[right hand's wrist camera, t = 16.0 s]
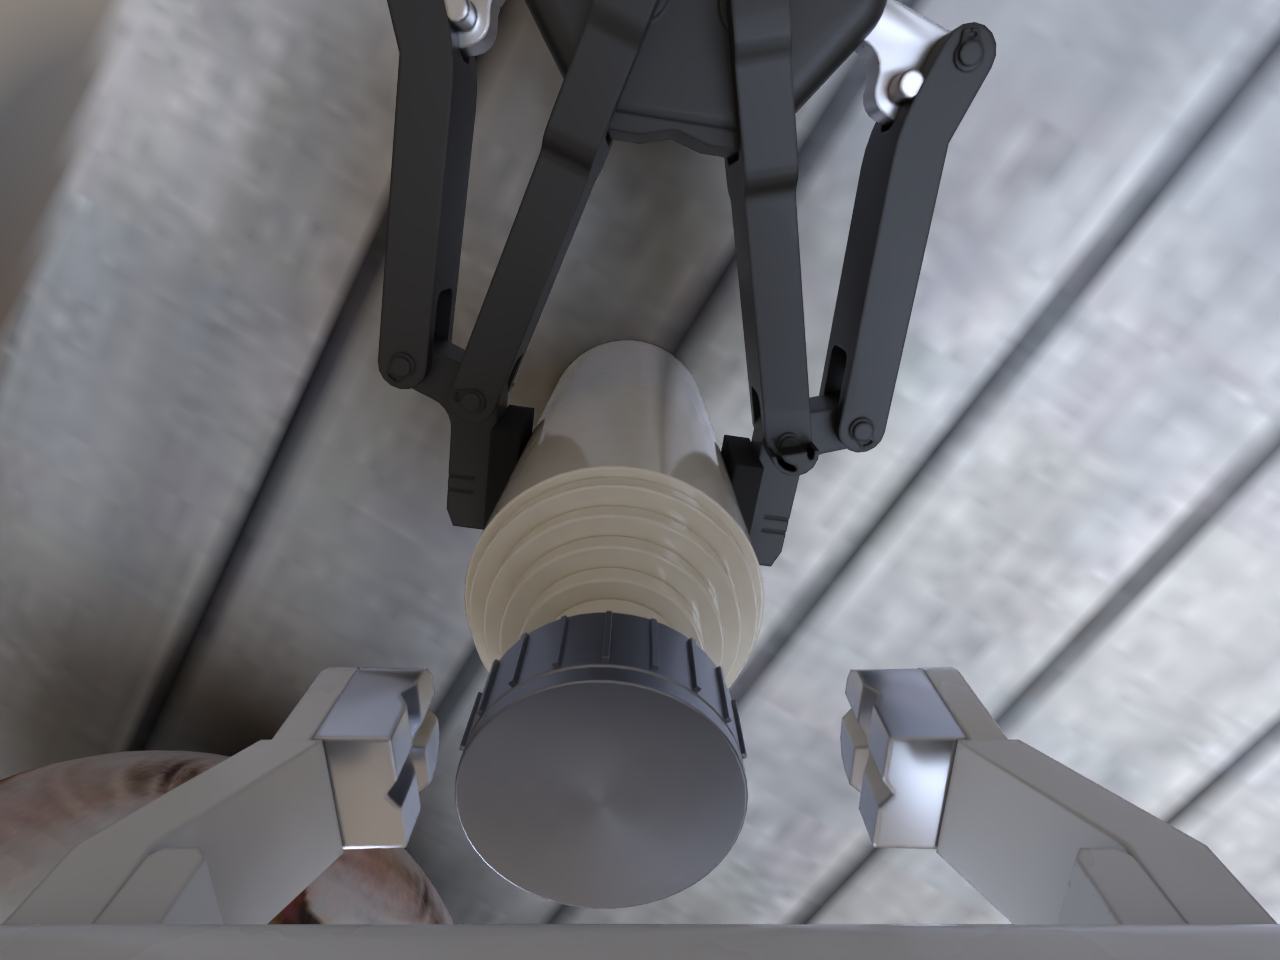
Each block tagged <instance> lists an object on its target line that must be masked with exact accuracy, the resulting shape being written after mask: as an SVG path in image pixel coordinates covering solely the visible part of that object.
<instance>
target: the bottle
mask: <svg viewBox="0 0 1280 960" xmlns="http://www.w3.org/2000/svg"><path fill="white" fill-rule="evenodd" d="M465 607H466V615H467V620H468V624H469V628H470V631H471V634H472V636H473V640H474V644H475V646H476V649H477V651H478V654H479V656H480V659H481V661H482V662H483V664H484V666H485V667H486V669H487V671H488V673H489V672H490V669H491V666H492V663H493V662H494V660H495V659H497V660H500V659H501V657H502V656H503V655H504V654H505V653H506V651H507V650H509V649H510V648H511V647H512V646H513V645H514V644H515V643H516V642H518V641H519V640H520V639H521V635H522V634H524V633H525V632H526V633H527V634H529V633H530V632H532V631H534V630H536V629H538V628H540V627H542V626H544V625H546V624H548V623H550V622H553V621H556V620H559V619H561V616H565V615H567V617H570V616H574V615H578V614H586V613H596V612H606V611H612V612H615V613H623V614H631V615H636V616H640V617H644V618H648V619H651V618H654V619H657V622H659V623H662V624H664V625H666V626H668V627H670V628H672V629H674V630H676V631H678V632H680V633H681V634H683V635H684V636H686V637H687V638H689V639H690V638H691V637H692V638H693V639H695V641H696V645H697V646H699V647H700V648H701V649H702V650H703V651H704V652H705V653H706V654H707V655H708V656H709V658H710V659H711V660H712V661H713V662H714V663H715V665H716V666H717V667H718V666H721V668H722V669H723V674H724V679H725V683H726V685H727V687H728V688H729V687H730V686H731V685H732V683H733V682H734V681H735V679H736V678H737V677H738V675H739V674H740V672H741V671H742V669H743V667H744V665H745V663H746V662H747V660H748V657H749V655H750V653H751V651H752V649H753V647H754V644H755V642H756V639H757V636H758V634H759V631H760V626H761V622H762V617H763V608H764V588H763V579H762V575H761V570H760V566H759V562H758V559H757V556H756V554H755V551H754V548H753V545H752V542H751V539H750V536H749V533H748V530H747V527H746V524H745V522H744V519H743V516H742V513H741V510H740V507H739V504H738V501H737V498H736V495H735V492H734V489H733V487H732V484H731V481H730V478H729V475H728V472H727V469H726V466H725V463H724V460H723V457H722V454H721V452H720V449H719V446H718V443H717V440H716V437H715V434H714V431H713V428H712V425H711V422H710V420H709V417H708V414H707V411H706V408H705V405H704V402H703V399H702V396H701V393H700V391H699V388H698V386H697V383H696V382H695V380H694V378H693V376H692V375H691V373H690V372H689V371H688V369H687V368H686V367H685V366H684V365H683V364H682V363H681V362H680V361H679V360H678V359H677V358H676V357H674V356H673V355H672V354H670V353H669V352H667V351H665V350H664V349H662V348H660V347H657V346H655V345H652V344H649V343H645V342H640V341H633V340H620V341H613V342H608V343H605V344H601V345H599V346H596V347H594V348H591V349H590V350H588V351H586V352H585V353H583V354H582V355H580V356H579V357H578V358H577V359H575V360H574V361H573V362H572V363H571V364H570V365H569V366H568V367H567V369H566V370H565V372H564V373H563V374H562V376H561V378H560V379H559V381H558V383H557V385H556V387H555V389H554V391H553V393H552V395H551V397H550V399H549V401H548V403H547V405H546V407H545V409H544V411H543V413H542V415H541V417H540V419H539V421H538V423H537V425H536V427H535V429H534V431H533V433H532V435H531V437H530V439H529V441H528V443H527V445H526V447H525V449H524V451H523V453H522V454H521V456H520V458H519V460H518V462H517V464H516V466H515V468H514V470H513V472H512V474H511V476H510V478H509V480H508V482H507V484H506V486H505V488H504V490H503V492H502V494H501V496H500V498H499V500H498V502H497V504H496V506H495V508H494V510H493V512H492V514H491V516H490V518H489V520H488V522H487V524H486V526H485V528H484V530H483V532H482V534H481V536H480V538H479V540H478V542H477V544H476V546H475V548H474V551H473V554H472V556H471V559H470V562H469V566H468V571H467V575H466V581H465Z"/></svg>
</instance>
